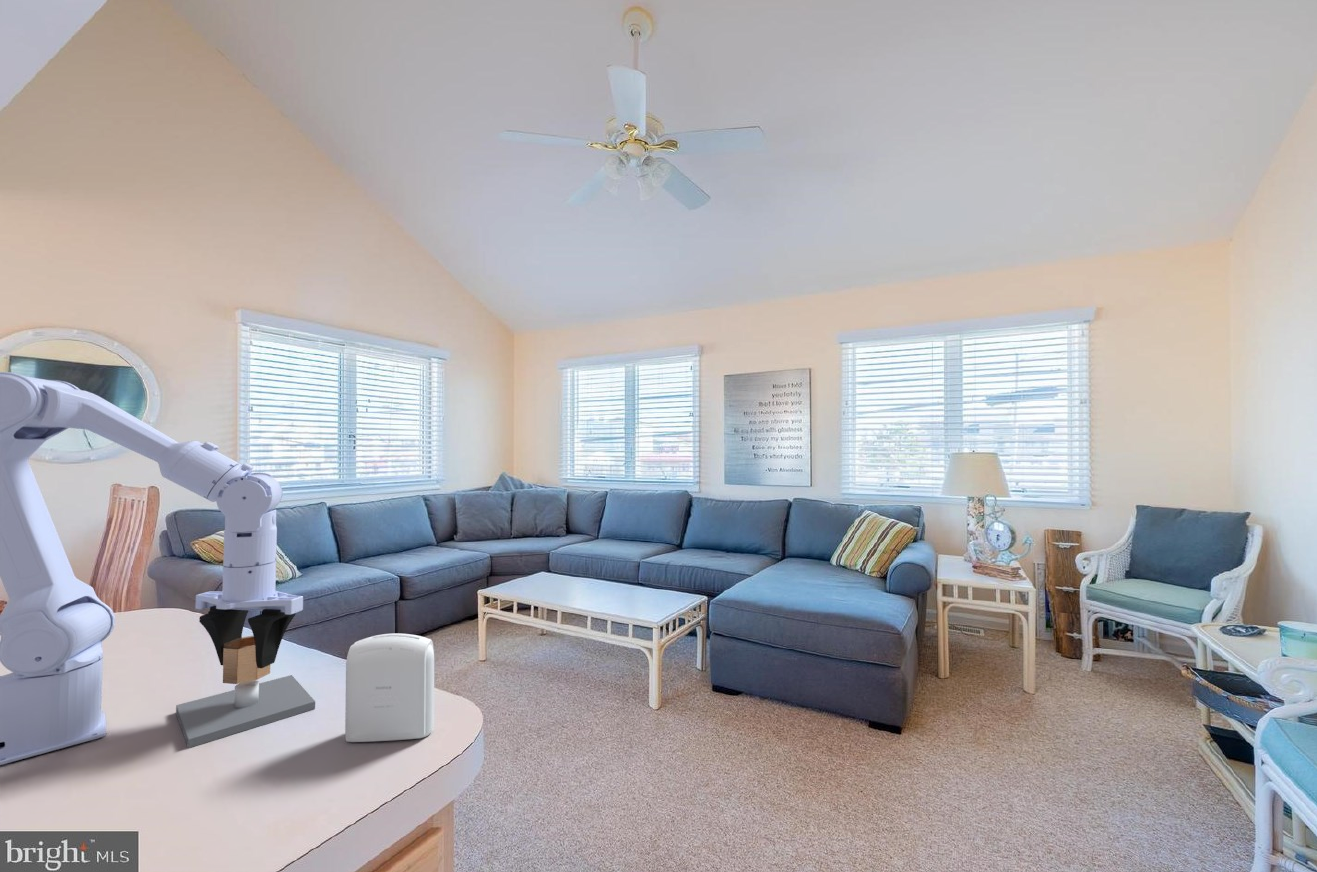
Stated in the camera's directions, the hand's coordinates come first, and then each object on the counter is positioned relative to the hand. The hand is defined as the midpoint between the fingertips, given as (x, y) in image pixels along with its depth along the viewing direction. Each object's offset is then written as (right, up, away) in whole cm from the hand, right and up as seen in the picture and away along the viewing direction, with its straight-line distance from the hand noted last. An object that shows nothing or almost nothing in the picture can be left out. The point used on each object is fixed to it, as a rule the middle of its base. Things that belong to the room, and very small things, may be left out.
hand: (247, 663), depth 72 cm
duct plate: (0, -6, 0) cm, 6 cm away
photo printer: (+22, -7, -6) cm, 24 cm away
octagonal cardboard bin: (0, -2, 0) cm, 2 cm away
